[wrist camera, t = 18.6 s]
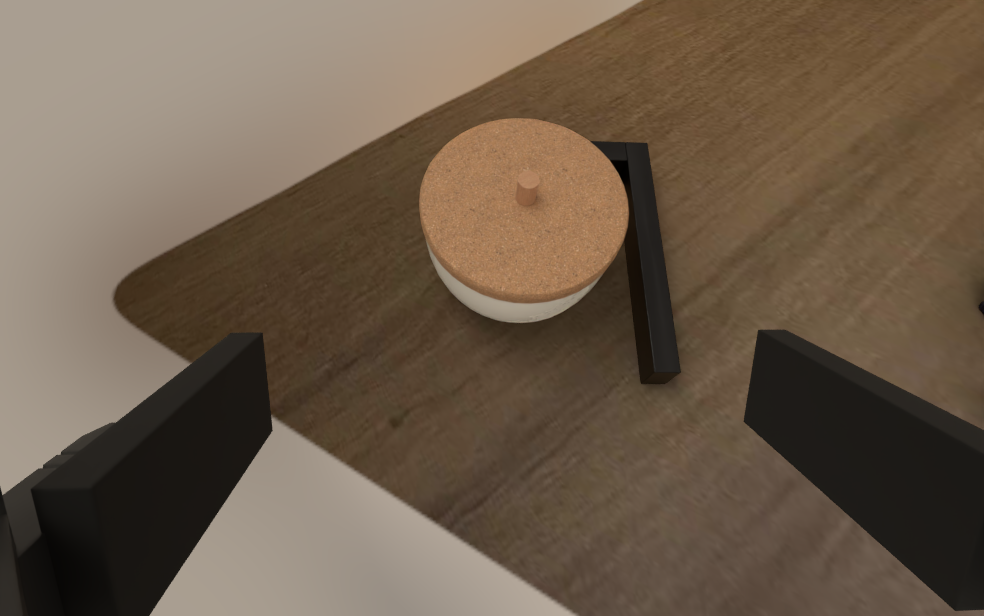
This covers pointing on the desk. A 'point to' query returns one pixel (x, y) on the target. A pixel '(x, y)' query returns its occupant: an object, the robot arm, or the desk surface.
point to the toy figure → (982, 307)
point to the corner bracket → (645, 264)
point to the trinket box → (522, 218)
